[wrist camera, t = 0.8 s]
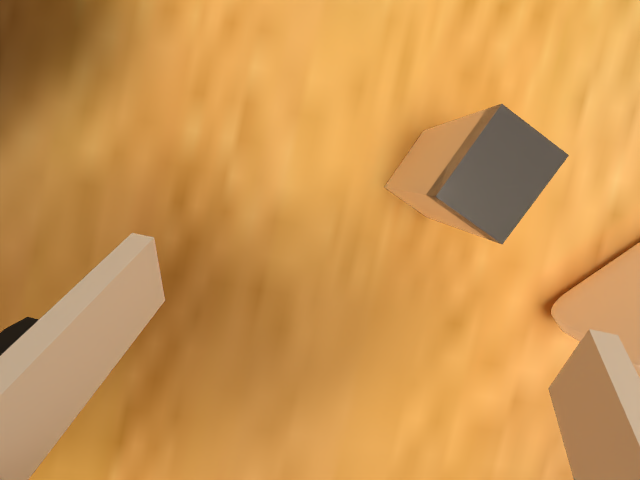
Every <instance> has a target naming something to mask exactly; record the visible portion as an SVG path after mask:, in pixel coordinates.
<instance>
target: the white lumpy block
mask: <svg viewBox="0 0 640 480" xmlns="http://www.w3.org/2000/svg"><path fill="white" fill-rule="evenodd" d="M551 315H552V317H553V318H554V320H555V321H556V323H557V324H558V326H559V327H560V329H561V330H562V331H563V332H565V333H567V334H568V335H570V336H572V337H573V338H575V339H576V340H578V341H580V342H581V340H582V339H583V337H584V336H585V334H586V333H587V331H588V330H589V329H591V330H596V331H601V332H606V333H610V334H615V335H618V336H619V338H620V340H621V342H622V344H623V346H624V348H625V350H626V352H627V354H628V356H629V358H630V360H631V362H632V364H633V366H634V368H635V370H636V372H637V374H638V376H639V378H640V242H639V243H638V244H636V245H635V246H633V247H632V248H630V249H629V250H627V251H626V252H625V253H623V254H622V255H620V256H619V257H617V258H616V259H614V260H613V261H611V262H610V263H608V264H607V265H606V266H604V267H603V268H601V269H600V270H598V271H597V272H595V273H594V274H592V275H591V276H589V277H588V278H586V279H585V280H584V281H582V282H581V283H579V284H578V285H576V286H575V287H573V288H572V289H570V290H569V291H567V292H566V293H565V294H563V295H562V296H561V297H560V298H559V299H558V300H557V301H556V302H555V303H554V305H553V306H552V309H551Z"/></svg>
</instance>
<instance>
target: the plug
mask: <svg viewBox="0 0 640 480" xmlns="http://www.w3.org/2000/svg"><path fill="white" fill-rule="evenodd" d="M568 156H569V155H568V154H566V153H565V152H564V151H563V150H561V149H560V148H559V147H557V146H556V145H555V144H553V143H552V142H551V141H550V140H548V139H547V138H546V137H544V136H543V135H542V134H540V133H539V132H538V131H537V130H535V129H534V128H533V127H531V126H530V125H529V124H527V123H526V122H525V121H524V120H522V119H521V118H520V117H518V116H517V115H516V114H514V113H513V112H512V111H511V110H509V109H508V108H507V107H505V106H504V105H503V104H500V105H497V106H494V107H491V108H488V109H485V110H482V111H479V112H476V113H473V114H470V115H467V116H464V117H462V118H459V119H456V120H453V121H450V122H447V123H444V124H441V125H438V126H435V127H432V128H429V129H426V130H424V131H423V132H422V134H421V135H420V136H419V138H418V139H417V141H416V142H415V144H414V145H413V146H412V148H411V149H410V151H409V152H408V154H407V155H406V157H405V158H404V159H403V161H402V162H401V164H400V165H399V167H398V168H397V169H396V171H395V172H394V174H393V175H392V177H391V178H390V180H389V181H388V182H387V184H386V185H385V187H384V188H386V189H387V190H389V191H390V192H392V193H393V194H394V195H396V196H397V197H399V198H400V199H402V200H403V201H404V202H406V203H407V204H409V205H410V206H412V207H413V208H414V209H416V210H417V211H419V212H420V213H421V214H423V215H424V216H426V217H428V218H431V219H433V220H436V221H439V222H442V223H444V224H447V225H450V226H453V227H456V228H458V229H461V230H464V231H467V232H469V233H472V234H475V235H478V236H480V237H483V238H486V239H489V240H492V241H494V242H497V243H500V244H503V243H504V241H505V240H506V239H507V237H508V236H509V235H510V233H511V232H512V231H513V229H514V228H515V227H516V225H517V224H518V223H519V221H520V220H521V219H522V217H523V216H524V215H525V213H526V212H527V211H528V209H529V208H530V207H531V205H532V204H533V203H534V201H535V200H536V199H537V197H538V196H539V195H540V193H541V192H542V191H543V189H544V188H545V186H546V185H547V184H548V182H549V181H550V180H551V178H552V177H553V176H554V174H555V173H556V172H557V170H558V169H559V168H560V166H561V165H562V164H563V162H564V161H565V160H566V158H567V157H568Z"/></svg>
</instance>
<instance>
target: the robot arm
mask: <svg viewBox="0 0 640 480" xmlns="http://www.w3.org/2000/svg"><path fill="white" fill-rule="evenodd" d="M164 301H165V297H164V291H163V285H162V279H161V274H160V268H159V262H158V256H157V251H156V245H155V239H154V237H150V236H145V235H140V234H136V233H131V234H130V235H129V236H128V237H127V238H126V239H125V240H124V241H123V242H122V243H121V244H119V245H118V246H117V247H116V248H115V249H114V250H113V251H112V252H111V253H110V254H109V255H108V256H107V257H106V258H104V259H103V260H102V261H101V262H100V263H99V264H98V265H97V266H96V267H95V268H94V269H93V270H92V271H91V272H90V273H88V274H87V275H86V276H85V277H84V278H83V279H82V280H81V281H80V282H79V283H78V284H77V285H76V286H75V287H73V288H72V289H71V290H70V291H69V292H68V293H67V294H66V295H65V296H64V297H63V298H62V299H61V300H60V301H58V302H57V303H56V304H55V305H54V306H53V307H52V308H51V309H50V310H49V311H48V312H47V313H46V314H45V315H43V316H42V317H41V318H40V319H39V320H38V319H34V318H30V317H26V318H25V319H23V320H21V321H19V322H17V323H15V324H14V325H12V326H10V327H8V328H6V329H5V330H3V331H2V332H1V333H0V480H28V479H29V478H30V477H31V475H32V474H33V473H34V472H35V470H36V469H37V468H38V466H39V465H40V464H41V462H42V461H43V460H44V458H45V457H46V456H47V454H48V453H49V452H50V451H51V449H52V448H53V447H54V445H55V444H56V443H57V441H58V440H59V439H60V437H61V436H62V435H63V434H64V432H65V431H66V430H67V428H68V427H69V426H70V424H71V423H72V422H73V420H74V419H75V418H76V417H77V415H78V414H79V413H80V411H81V410H82V409H83V407H84V406H85V405H86V403H87V402H88V401H89V399H90V398H91V397H92V396H93V394H94V393H95V392H96V390H97V389H98V388H99V386H100V385H101V384H102V382H103V381H104V380H105V379H106V377H107V376H108V375H109V373H110V372H111V371H112V369H113V368H114V367H115V365H116V364H117V363H118V362H119V360H120V359H121V358H122V356H123V355H124V354H125V352H126V351H127V350H128V348H129V347H130V346H131V344H132V343H133V342H134V341H135V339H136V338H137V337H138V335H139V334H140V333H141V331H142V330H143V329H144V327H145V326H146V325H147V324H148V322H149V321H150V320H151V318H152V317H153V316H154V314H155V313H156V312H157V310H158V309H159V308H160V307H161V305H162V304H163V303H164ZM548 389H549V392H550V396H551V399H552V403H553V407H554V410H555V414H556V417H557V421H558V425H559V428H560V432H561V435H562V439H563V442H564V446H565V450H566V453H567V457H568V460H569V464H570V468H571V471H572V475H573V478H574V480H640V378H639V376H638V374H637V372H636V370H635V368H634V366H633V364H632V362H631V360H630V358H629V356H628V354H627V352H626V350H625V348H624V346H623V344H622V342H621V340H620V338H619V336H618V335H615V334H610V333H606V332H601V331H596V330H591V329H589V330H588V331H587V333H586V334H585V336H584V337H583V339H582V340H581V342H580V343H579V344H578V346H577V347H576V349H575V350H574V352H573V353H572V355H571V356H570V358H569V359H568V361H567V362H566V363H565V365H564V366H563V368H562V369H561V371H560V372H559V374H558V375H557V377H556V378H555V380H554V381H553V382H552V384H551V385H550V387H549V388H548Z"/></svg>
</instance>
